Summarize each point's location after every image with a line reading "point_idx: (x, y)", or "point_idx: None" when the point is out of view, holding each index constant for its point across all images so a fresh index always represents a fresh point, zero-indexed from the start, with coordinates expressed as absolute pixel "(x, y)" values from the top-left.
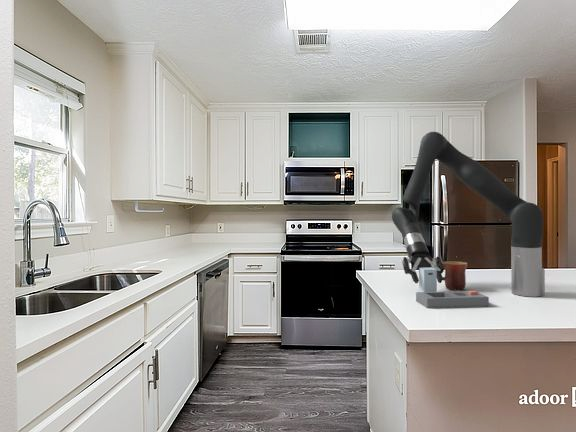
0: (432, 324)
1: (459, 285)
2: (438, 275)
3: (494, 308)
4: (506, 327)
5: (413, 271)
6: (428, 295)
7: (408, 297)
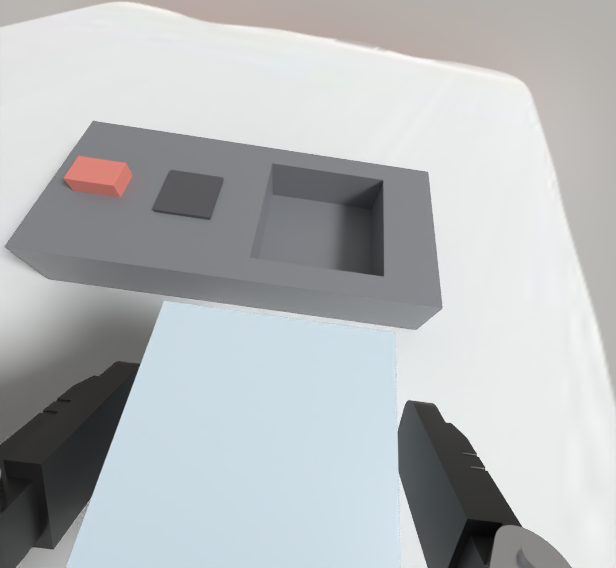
0: (459, 86)
1: None
2: (98, 416)
3: None
4: (277, 33)
5: (520, 529)
6: (393, 218)
7: None
